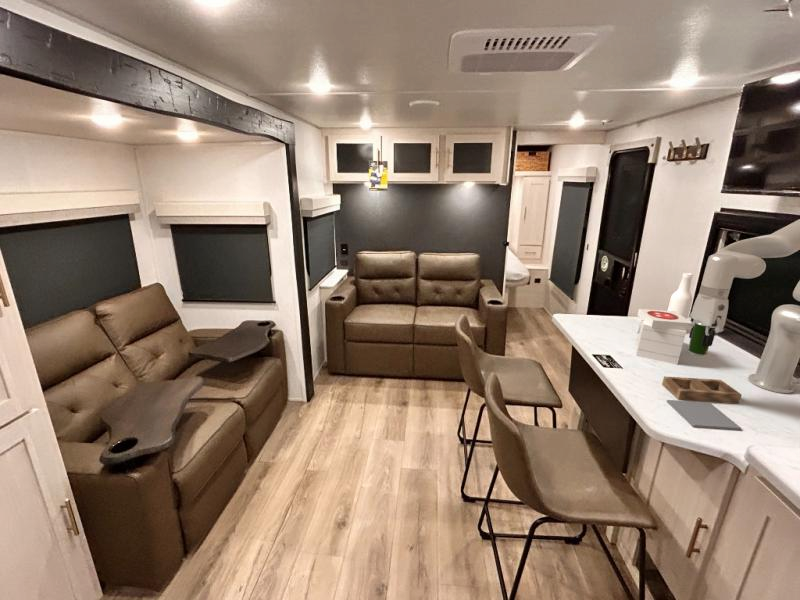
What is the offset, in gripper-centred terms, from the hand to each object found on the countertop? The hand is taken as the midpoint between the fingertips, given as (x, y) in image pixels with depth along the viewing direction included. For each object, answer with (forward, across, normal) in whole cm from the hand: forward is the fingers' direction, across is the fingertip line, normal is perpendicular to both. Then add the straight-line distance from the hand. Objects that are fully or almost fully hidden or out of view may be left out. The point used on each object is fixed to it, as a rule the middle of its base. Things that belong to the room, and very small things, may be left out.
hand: (700, 341), depth 130 cm
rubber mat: (+20, -14, +4) cm, 25 cm away
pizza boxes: (+21, +38, -9) cm, 44 cm away
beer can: (+5, 0, 0) cm, 5 cm away
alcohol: (+21, +64, -32) cm, 75 cm away
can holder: (+20, 0, -4) cm, 21 cm away
